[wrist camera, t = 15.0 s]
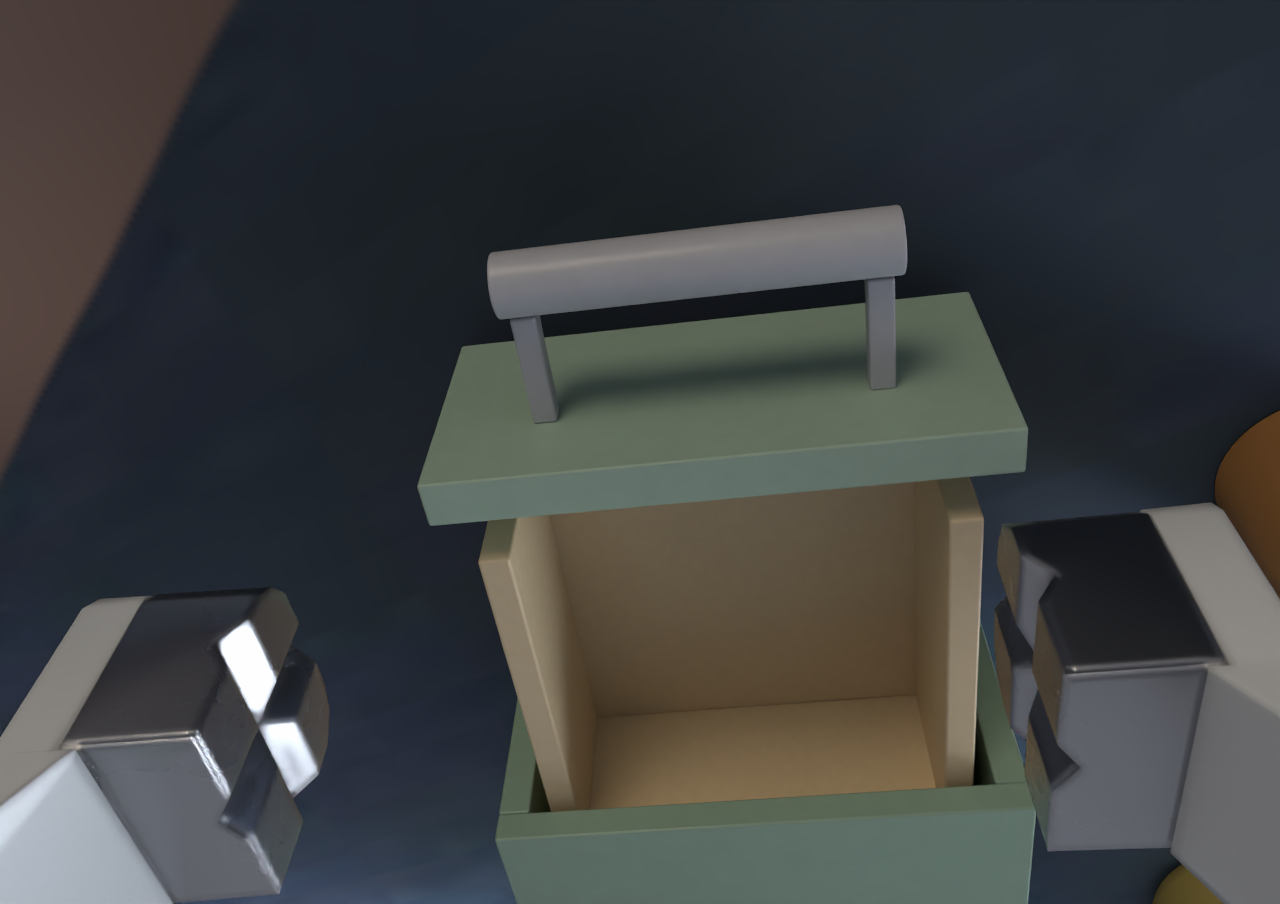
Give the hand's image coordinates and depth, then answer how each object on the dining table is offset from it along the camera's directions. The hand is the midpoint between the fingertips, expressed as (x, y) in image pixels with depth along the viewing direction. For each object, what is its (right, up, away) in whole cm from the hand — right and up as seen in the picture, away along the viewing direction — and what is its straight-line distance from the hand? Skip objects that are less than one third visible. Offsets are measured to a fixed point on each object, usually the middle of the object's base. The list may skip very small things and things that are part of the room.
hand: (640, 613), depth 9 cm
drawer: (+3, +1, +24) cm, 24 cm away
